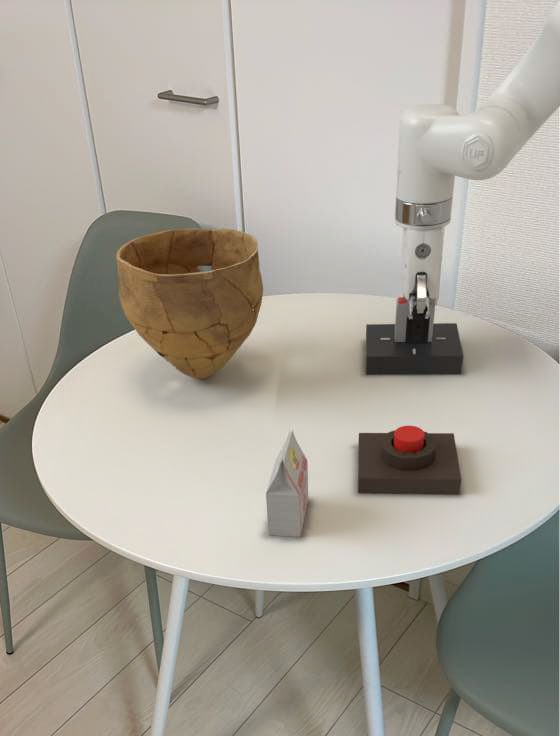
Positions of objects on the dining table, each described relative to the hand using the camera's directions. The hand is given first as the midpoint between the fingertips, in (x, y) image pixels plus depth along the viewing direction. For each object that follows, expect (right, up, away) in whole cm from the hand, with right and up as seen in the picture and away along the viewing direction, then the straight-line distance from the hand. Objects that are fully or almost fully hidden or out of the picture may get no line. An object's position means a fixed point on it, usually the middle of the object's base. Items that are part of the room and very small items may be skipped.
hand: (414, 328), depth 113 cm
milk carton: (-20, -29, -25) cm, 43 cm away
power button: (-5, -20, -21) cm, 30 cm away
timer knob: (0, -1, +1) cm, 2 cm away
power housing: (-5, -23, -19) cm, 30 cm away
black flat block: (0, -4, +3) cm, 5 cm away
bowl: (-32, -7, +3) cm, 33 cm away
